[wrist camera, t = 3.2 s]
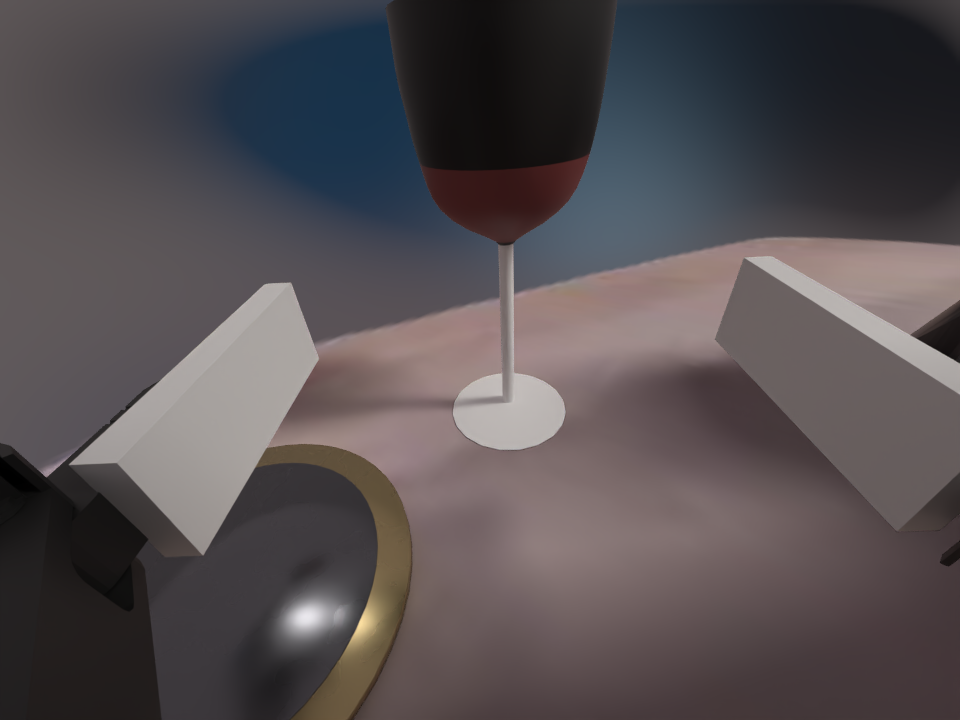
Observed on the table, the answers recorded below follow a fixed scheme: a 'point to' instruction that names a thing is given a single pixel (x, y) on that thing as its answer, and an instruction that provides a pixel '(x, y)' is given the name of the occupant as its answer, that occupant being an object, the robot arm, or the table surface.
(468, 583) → the table surface
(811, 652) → the table surface
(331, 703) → the coaster
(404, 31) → the wineglass
